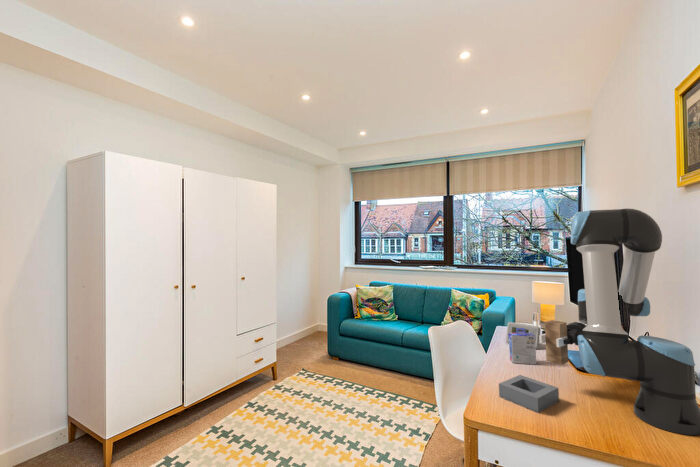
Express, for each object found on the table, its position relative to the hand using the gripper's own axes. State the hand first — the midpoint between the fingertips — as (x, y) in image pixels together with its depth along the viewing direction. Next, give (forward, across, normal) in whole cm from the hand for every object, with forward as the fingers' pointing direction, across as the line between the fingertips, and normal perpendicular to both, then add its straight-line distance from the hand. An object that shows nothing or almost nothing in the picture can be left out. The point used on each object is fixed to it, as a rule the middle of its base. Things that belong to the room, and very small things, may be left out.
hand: (548, 341), depth 114 cm
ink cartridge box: (-21, +22, -18) cm, 35 cm away
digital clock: (-44, +34, -17) cm, 58 cm away
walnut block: (-5, 0, -8) cm, 10 cm away
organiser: (+11, +2, -18) cm, 21 cm away
